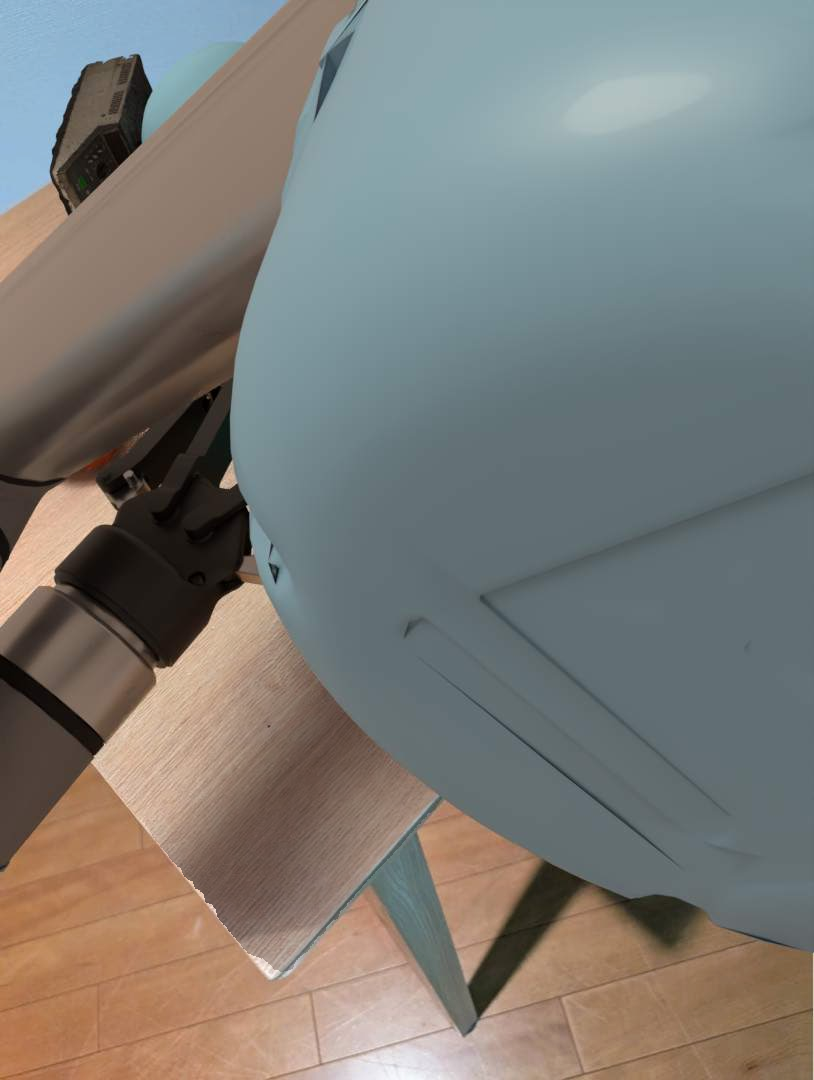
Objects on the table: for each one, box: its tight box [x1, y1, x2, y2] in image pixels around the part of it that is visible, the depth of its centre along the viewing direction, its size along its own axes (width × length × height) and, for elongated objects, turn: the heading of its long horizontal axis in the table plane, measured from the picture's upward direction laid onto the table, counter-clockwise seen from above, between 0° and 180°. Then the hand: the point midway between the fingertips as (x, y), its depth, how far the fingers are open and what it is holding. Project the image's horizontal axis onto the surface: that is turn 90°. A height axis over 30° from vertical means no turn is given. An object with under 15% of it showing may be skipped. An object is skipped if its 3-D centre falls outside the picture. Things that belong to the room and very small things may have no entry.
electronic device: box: [49, 53, 154, 217], centre depth 96 cm, size 12×17×6 cm
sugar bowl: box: [142, 41, 246, 144], centre depth 94 cm, size 15×15×12 cm
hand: (374, 327), depth 60 cm, fingers closed on beverage can, 6 cm apart
